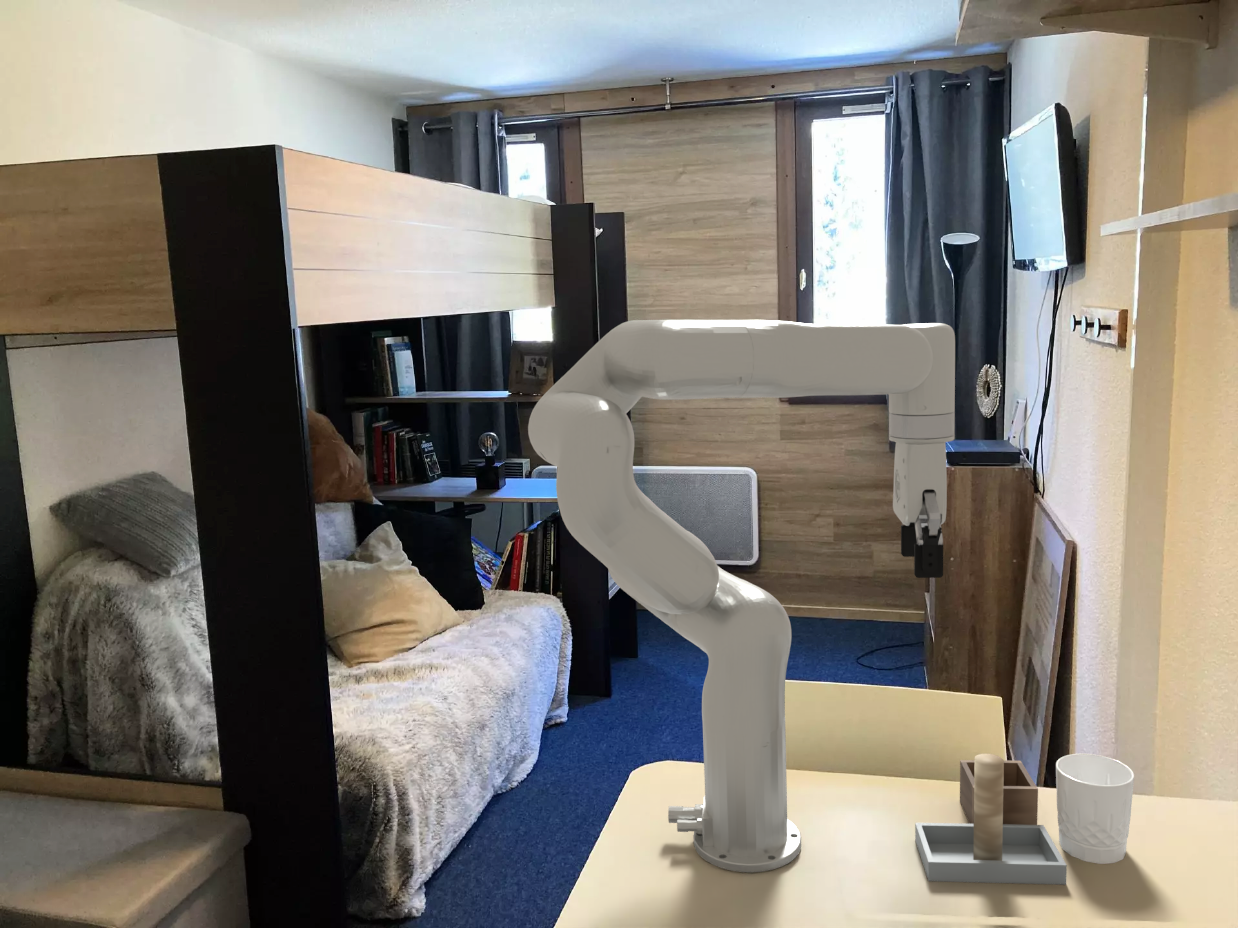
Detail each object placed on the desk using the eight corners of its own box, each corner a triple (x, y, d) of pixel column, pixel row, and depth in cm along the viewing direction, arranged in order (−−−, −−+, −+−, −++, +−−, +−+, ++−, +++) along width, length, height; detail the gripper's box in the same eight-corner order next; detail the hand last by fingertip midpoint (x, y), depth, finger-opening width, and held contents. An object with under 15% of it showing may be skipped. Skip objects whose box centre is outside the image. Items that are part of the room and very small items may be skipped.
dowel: (976, 868, 109) (978, 765, 107) (970, 853, 112) (971, 753, 110) (1005, 868, 108) (1007, 766, 106) (998, 853, 111) (999, 753, 109)
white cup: (1140, 873, 107) (1143, 787, 106) (1062, 868, 109) (1064, 783, 107) (1119, 835, 115) (1122, 754, 113) (1047, 831, 117) (1049, 751, 115)
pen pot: (973, 835, 116) (973, 787, 115) (959, 804, 123) (960, 759, 122) (1036, 836, 115) (1037, 788, 115) (1019, 805, 123) (1020, 760, 122)
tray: (928, 885, 107) (928, 861, 107) (915, 844, 115) (915, 822, 115) (1066, 889, 105) (1066, 864, 105) (1042, 847, 113) (1043, 824, 113)
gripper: (879, 419, 127) (879, 549, 130) (900, 438, 110) (900, 586, 113) (939, 418, 126) (938, 548, 129) (970, 436, 109) (969, 585, 112)
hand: (921, 566), depth 121 cm, fingers open, 9 cm apart
